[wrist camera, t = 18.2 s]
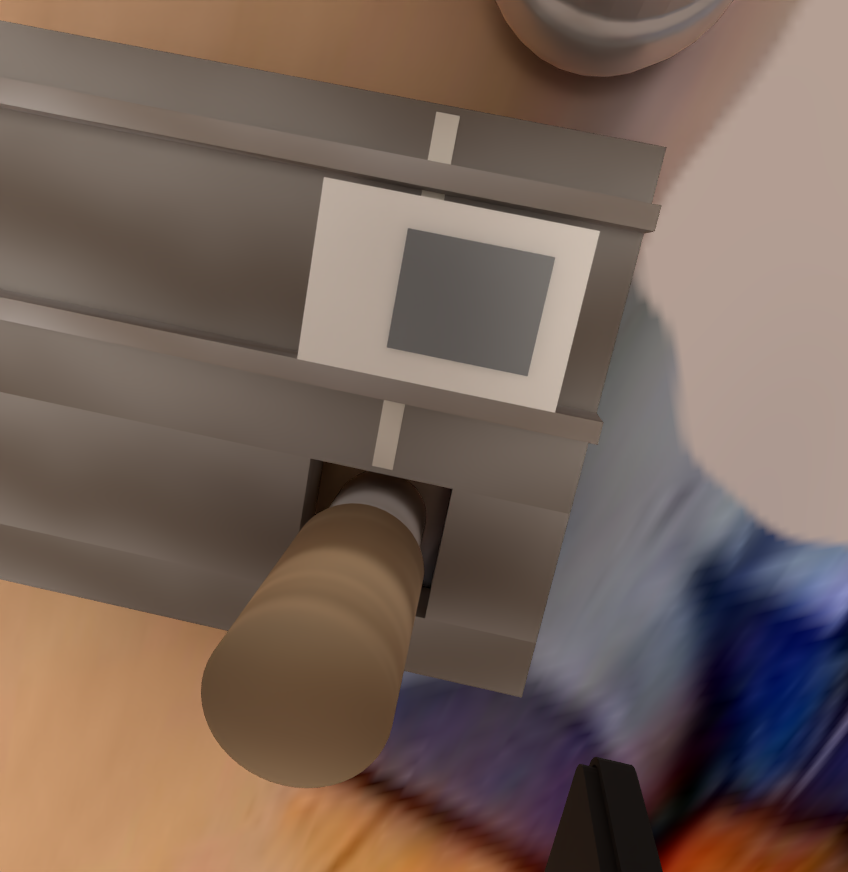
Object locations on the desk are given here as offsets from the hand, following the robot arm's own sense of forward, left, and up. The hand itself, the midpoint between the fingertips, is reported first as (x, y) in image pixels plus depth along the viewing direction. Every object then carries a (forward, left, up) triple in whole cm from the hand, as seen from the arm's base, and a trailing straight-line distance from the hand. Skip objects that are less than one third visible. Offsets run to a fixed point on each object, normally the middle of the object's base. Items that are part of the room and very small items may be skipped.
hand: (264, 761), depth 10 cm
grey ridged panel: (-3, -4, -12) cm, 13 cm away
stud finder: (-7, +1, -10) cm, 12 cm away
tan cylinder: (+1, 0, -12) cm, 12 cm away
